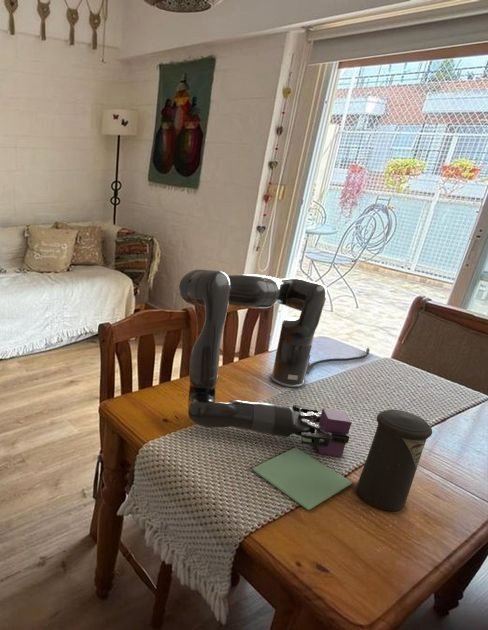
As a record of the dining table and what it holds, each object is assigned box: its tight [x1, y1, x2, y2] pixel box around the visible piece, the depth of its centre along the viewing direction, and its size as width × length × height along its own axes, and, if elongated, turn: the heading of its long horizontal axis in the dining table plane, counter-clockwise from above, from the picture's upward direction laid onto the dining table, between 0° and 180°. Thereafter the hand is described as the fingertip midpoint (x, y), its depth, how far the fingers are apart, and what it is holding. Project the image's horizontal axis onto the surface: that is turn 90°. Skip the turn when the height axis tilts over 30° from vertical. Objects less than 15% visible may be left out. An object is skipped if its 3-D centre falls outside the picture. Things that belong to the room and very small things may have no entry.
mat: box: [251, 447, 353, 511], centre depth 99 cm, size 16×14×1 cm
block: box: [315, 407, 352, 458], centre depth 107 cm, size 5×5×10 cm
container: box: [356, 409, 433, 512], centre depth 90 cm, size 9×9×20 cm
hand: (343, 430), depth 106 cm, fingers open, 6 cm apart
